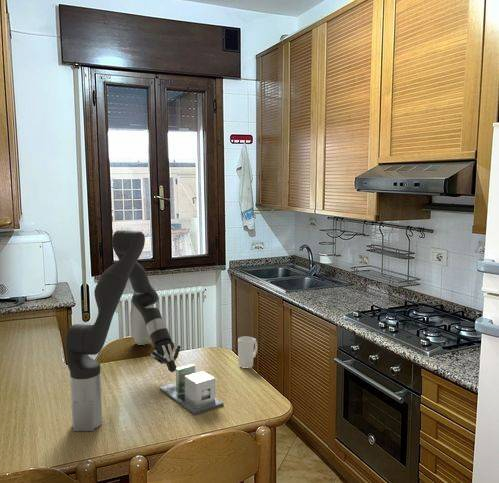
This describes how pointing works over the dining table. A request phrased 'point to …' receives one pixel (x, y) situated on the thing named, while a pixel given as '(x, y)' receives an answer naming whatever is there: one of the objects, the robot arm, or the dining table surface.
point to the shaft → (180, 379)
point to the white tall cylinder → (138, 326)
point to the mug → (246, 351)
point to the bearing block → (195, 393)
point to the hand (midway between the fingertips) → (173, 371)
